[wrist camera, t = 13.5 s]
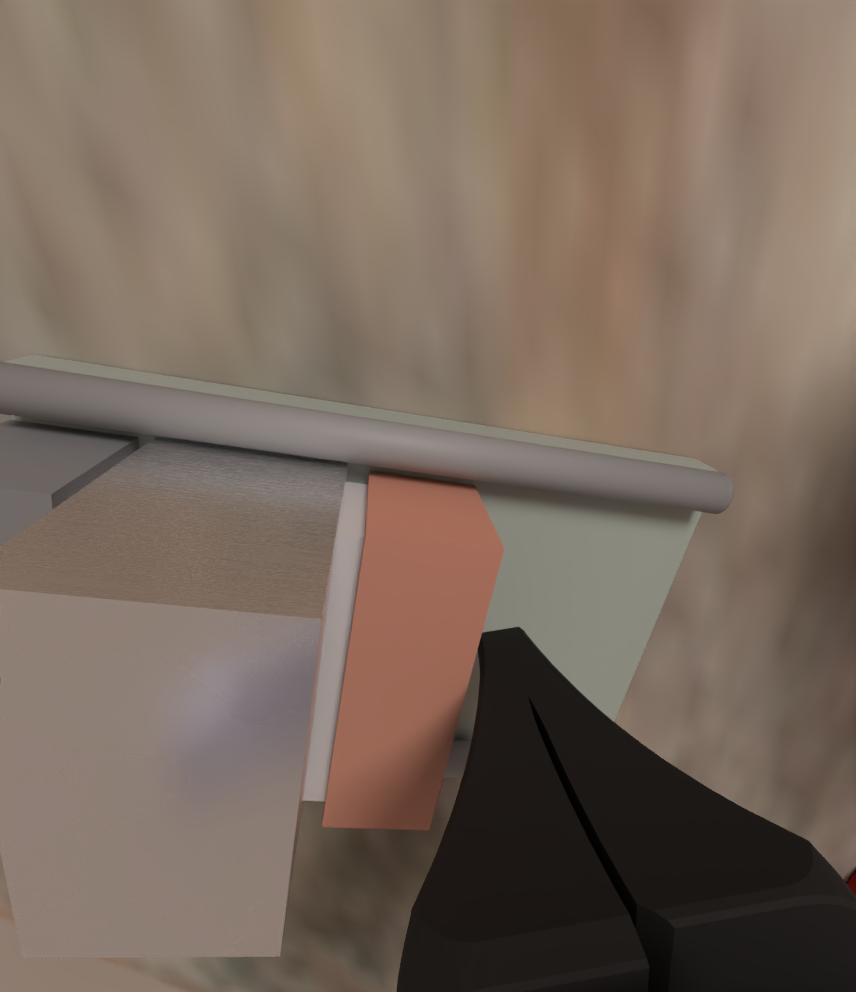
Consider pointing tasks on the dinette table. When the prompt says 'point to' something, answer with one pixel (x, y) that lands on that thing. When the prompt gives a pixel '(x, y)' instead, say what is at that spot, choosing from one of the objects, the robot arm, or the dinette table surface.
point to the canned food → (852, 883)
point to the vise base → (410, 452)
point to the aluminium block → (163, 701)
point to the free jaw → (398, 647)
